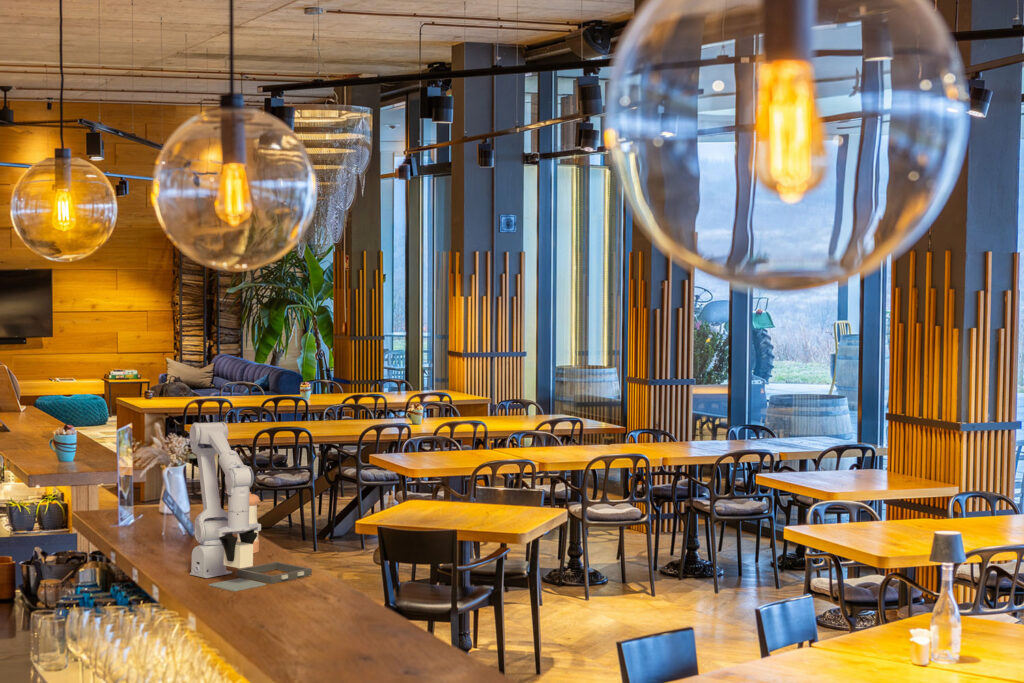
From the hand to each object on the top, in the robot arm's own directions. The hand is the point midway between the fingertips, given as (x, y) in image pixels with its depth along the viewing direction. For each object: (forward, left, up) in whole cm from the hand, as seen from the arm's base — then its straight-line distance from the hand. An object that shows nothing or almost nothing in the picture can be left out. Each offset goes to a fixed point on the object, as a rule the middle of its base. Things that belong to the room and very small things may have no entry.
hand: (237, 559), depth 316 cm
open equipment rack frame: (+15, +2, -7) cm, 17 cm away
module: (0, 0, -2) cm, 2 cm away
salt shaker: (+34, +37, -7) cm, 51 cm away
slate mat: (0, 0, -7) cm, 7 cm away
